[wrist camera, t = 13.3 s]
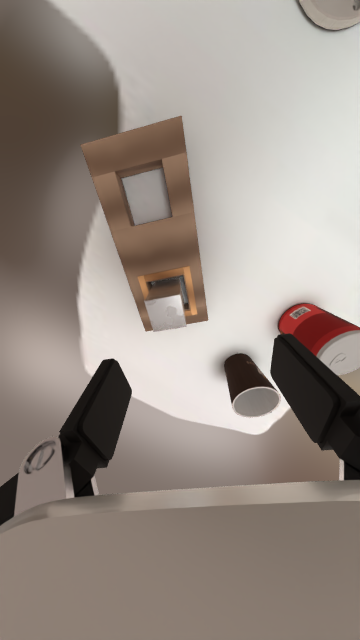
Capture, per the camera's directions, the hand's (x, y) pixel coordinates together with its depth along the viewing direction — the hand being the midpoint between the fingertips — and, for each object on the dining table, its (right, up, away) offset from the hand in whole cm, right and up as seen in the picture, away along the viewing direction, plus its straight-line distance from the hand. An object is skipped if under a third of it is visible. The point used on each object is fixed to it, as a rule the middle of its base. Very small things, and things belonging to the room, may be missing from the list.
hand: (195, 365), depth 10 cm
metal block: (-3, +8, +20) cm, 21 cm away
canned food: (+23, +3, +23) cm, 32 cm away
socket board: (-4, +14, +17) cm, 22 cm away
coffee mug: (+13, -9, +29) cm, 33 cm away
